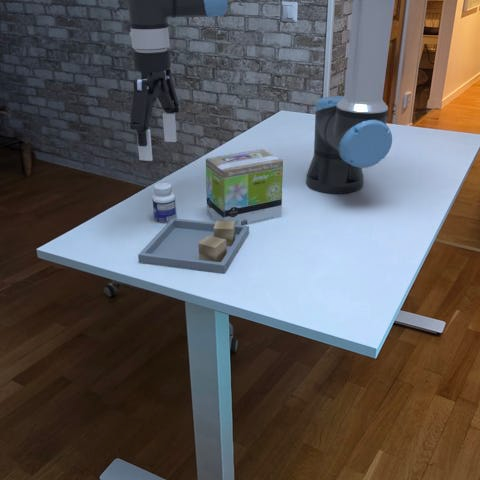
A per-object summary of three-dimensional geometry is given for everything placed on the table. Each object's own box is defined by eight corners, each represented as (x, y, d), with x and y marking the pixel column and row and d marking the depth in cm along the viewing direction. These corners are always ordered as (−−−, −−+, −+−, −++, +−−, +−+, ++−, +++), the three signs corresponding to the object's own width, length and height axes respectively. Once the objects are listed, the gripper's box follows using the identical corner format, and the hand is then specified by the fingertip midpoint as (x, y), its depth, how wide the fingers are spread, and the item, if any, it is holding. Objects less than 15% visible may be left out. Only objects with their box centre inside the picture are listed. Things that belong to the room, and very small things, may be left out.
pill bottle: (155, 217, 134) (151, 181, 130) (177, 215, 135) (174, 180, 131) (154, 226, 130) (150, 190, 126) (176, 225, 130) (174, 189, 126)
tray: (249, 236, 124) (248, 226, 123) (224, 276, 109) (224, 265, 108) (172, 227, 129) (172, 218, 128) (139, 265, 113) (138, 254, 112)
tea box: (225, 233, 126) (222, 170, 119) (206, 217, 134) (203, 157, 127) (283, 219, 132) (283, 158, 125) (261, 204, 140) (261, 146, 133)
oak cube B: (226, 257, 115) (226, 239, 113) (215, 265, 111) (215, 247, 110) (210, 252, 116) (209, 235, 115) (199, 260, 113) (198, 243, 112)
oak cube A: (235, 237, 122) (234, 220, 121) (233, 246, 119) (232, 229, 117) (216, 237, 123) (216, 220, 121) (214, 245, 119) (213, 228, 117)
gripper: (158, 41, 127) (165, 133, 136) (104, 58, 105) (117, 167, 115) (189, 41, 125) (194, 135, 134) (141, 60, 103) (151, 170, 113)
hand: (158, 150), depth 124 cm, fingers open, 13 cm apart
